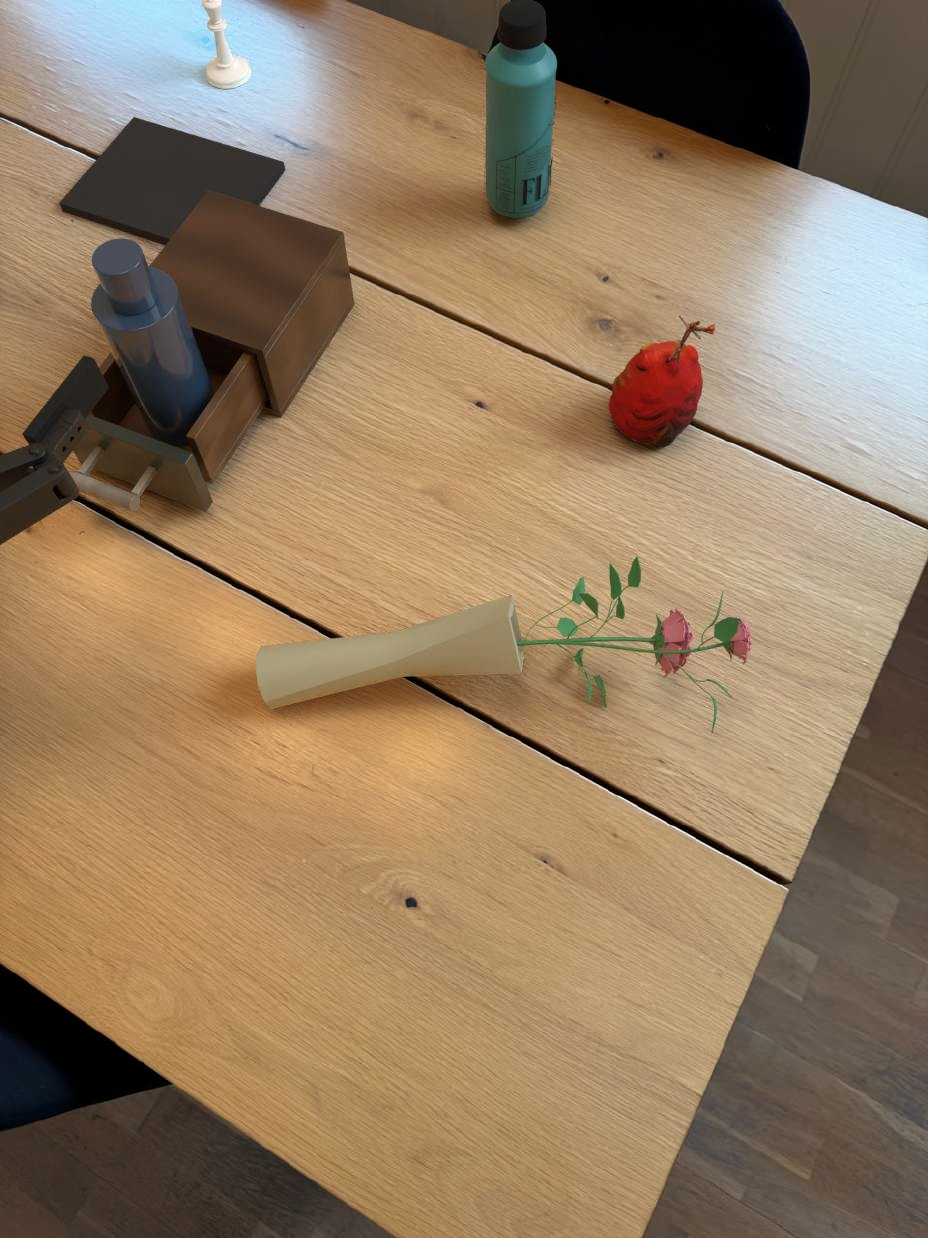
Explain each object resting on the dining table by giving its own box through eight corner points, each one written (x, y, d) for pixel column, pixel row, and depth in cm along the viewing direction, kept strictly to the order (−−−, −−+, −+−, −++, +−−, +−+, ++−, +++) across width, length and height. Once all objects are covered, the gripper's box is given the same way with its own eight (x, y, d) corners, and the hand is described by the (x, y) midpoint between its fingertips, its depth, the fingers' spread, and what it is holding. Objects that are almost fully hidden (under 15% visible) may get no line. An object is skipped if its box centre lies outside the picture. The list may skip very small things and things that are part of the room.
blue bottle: (132, 432, 87) (53, 273, 71) (171, 378, 90) (103, 213, 74) (196, 456, 86) (131, 300, 70) (234, 400, 88) (179, 238, 72)
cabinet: (281, 417, 90) (262, 351, 82) (150, 371, 93) (120, 302, 85) (354, 303, 96) (343, 231, 88) (229, 263, 99) (208, 189, 91)
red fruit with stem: (675, 381, 91) (709, 252, 78) (706, 442, 88) (747, 318, 75) (596, 402, 90) (615, 274, 77) (624, 464, 87) (650, 343, 74)
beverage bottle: (519, 241, 99) (528, 45, 82) (469, 209, 101) (466, 12, 84) (562, 206, 101) (579, 8, 84) (512, 175, 104) (519, -24, 86)
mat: (62, 210, 102) (58, 202, 101) (136, 124, 108) (133, 116, 107) (217, 261, 99) (215, 253, 98) (285, 169, 105) (284, 161, 104)
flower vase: (317, 686, 86) (735, 614, 80) (301, 808, 78) (768, 738, 72) (263, 590, 78) (724, 501, 72) (239, 714, 70) (760, 626, 63)
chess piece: (233, 53, 113) (212, -39, 104) (260, 74, 111) (241, -18, 103) (197, 73, 112) (172, -19, 103) (224, 95, 110) (201, 3, 101)
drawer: (180, 552, 83) (156, 506, 77) (53, 502, 85) (20, 453, 79) (283, 394, 90) (268, 340, 84) (163, 352, 93) (141, 297, 86)
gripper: (-344, 567, 62) (-120, 323, 70) (-6, 720, 57) (190, 437, 65) (-445, 497, 55) (-183, 238, 64) (-71, 664, 50) (157, 357, 59)
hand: (6, 338), depth 65 cm, fingers open, 13 cm apart
